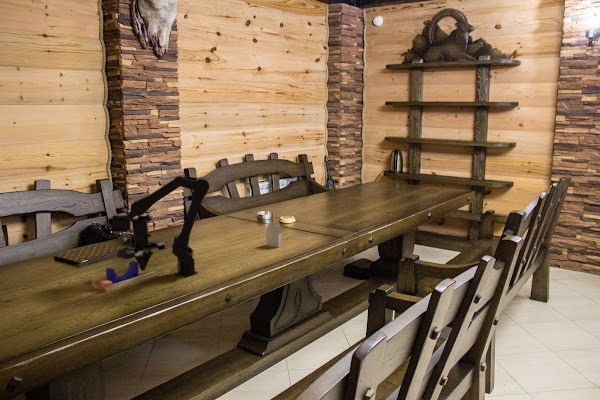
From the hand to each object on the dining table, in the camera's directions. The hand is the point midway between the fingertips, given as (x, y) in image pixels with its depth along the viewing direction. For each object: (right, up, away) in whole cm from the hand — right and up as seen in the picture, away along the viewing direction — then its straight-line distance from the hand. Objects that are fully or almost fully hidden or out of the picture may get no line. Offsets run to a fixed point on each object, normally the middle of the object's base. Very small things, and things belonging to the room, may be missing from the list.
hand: (142, 270), depth 214 cm
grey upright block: (+49, +6, +45) cm, 67 cm away
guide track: (-5, -3, -6) cm, 8 cm away
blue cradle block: (-5, -3, -6) cm, 9 cm away
